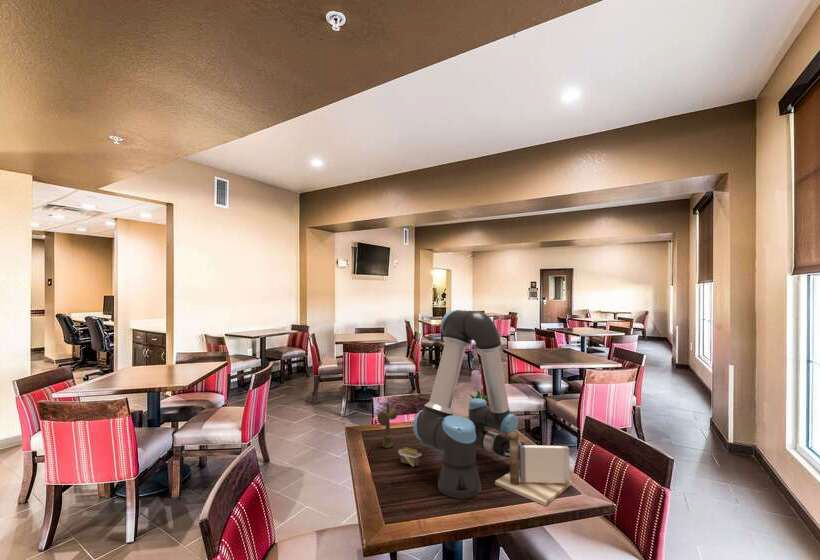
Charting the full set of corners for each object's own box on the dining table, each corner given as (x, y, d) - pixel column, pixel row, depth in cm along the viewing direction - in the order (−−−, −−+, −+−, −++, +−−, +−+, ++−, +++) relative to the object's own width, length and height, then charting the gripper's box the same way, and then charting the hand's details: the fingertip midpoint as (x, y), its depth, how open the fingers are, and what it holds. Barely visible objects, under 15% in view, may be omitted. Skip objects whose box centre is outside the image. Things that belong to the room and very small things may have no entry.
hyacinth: (491, 431, 185) (491, 371, 186) (471, 431, 185) (471, 371, 186) (488, 425, 193) (488, 367, 195) (469, 425, 194) (468, 367, 195)
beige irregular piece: (423, 477, 138) (423, 459, 138) (381, 467, 146) (382, 450, 146) (435, 464, 149) (435, 447, 149) (395, 456, 157) (395, 440, 157)
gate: (520, 482, 130) (520, 447, 130) (519, 479, 132) (519, 445, 132) (569, 483, 129) (569, 448, 129) (567, 480, 131) (567, 446, 131)
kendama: (376, 449, 162) (376, 403, 163) (386, 441, 171) (386, 398, 172) (388, 451, 160) (388, 405, 161) (398, 443, 169) (398, 399, 170)
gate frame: (545, 506, 118) (544, 444, 119) (495, 484, 132) (494, 429, 133) (571, 484, 132) (570, 429, 133) (523, 466, 146) (522, 417, 147)
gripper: (506, 448, 153) (562, 467, 136) (488, 457, 144) (546, 479, 127) (506, 430, 153) (561, 446, 136) (488, 438, 144) (545, 457, 127)
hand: (554, 462), depth 132 cm, fingers closed
